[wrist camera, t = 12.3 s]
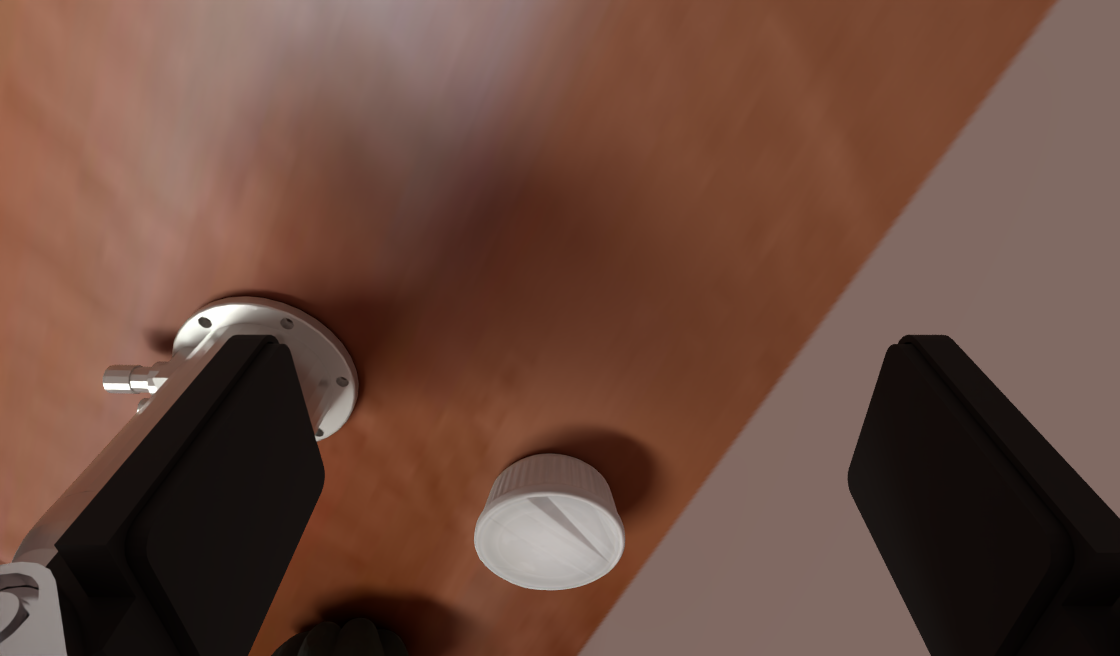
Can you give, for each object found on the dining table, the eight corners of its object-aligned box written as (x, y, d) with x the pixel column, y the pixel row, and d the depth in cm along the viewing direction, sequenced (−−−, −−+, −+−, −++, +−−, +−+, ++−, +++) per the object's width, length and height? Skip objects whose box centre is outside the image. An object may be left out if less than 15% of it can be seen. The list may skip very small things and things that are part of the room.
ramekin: (642, 461, 49) (648, 515, 45) (594, 549, 55) (595, 604, 50) (503, 425, 47) (495, 477, 43) (469, 519, 53) (459, 573, 49)
